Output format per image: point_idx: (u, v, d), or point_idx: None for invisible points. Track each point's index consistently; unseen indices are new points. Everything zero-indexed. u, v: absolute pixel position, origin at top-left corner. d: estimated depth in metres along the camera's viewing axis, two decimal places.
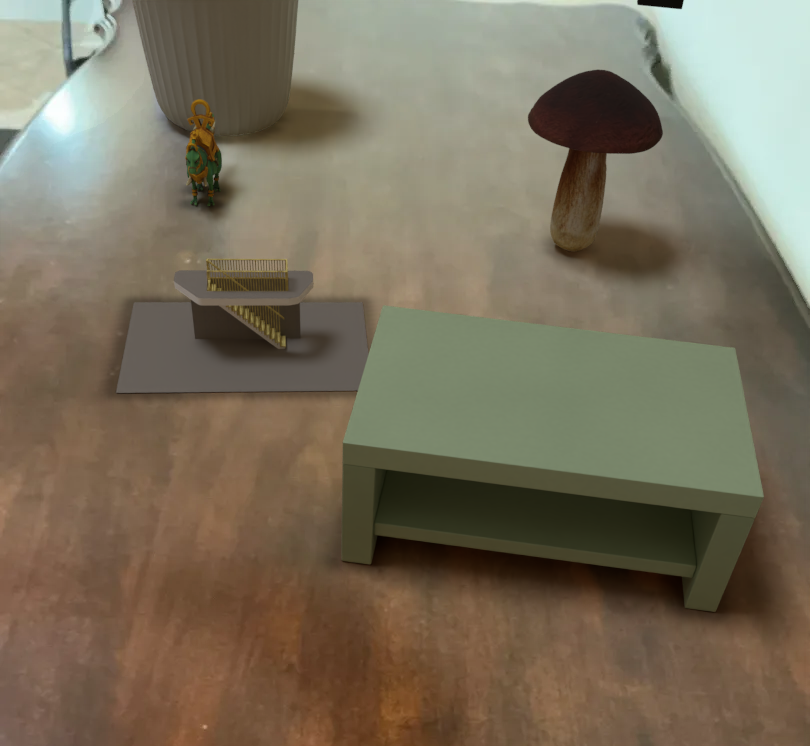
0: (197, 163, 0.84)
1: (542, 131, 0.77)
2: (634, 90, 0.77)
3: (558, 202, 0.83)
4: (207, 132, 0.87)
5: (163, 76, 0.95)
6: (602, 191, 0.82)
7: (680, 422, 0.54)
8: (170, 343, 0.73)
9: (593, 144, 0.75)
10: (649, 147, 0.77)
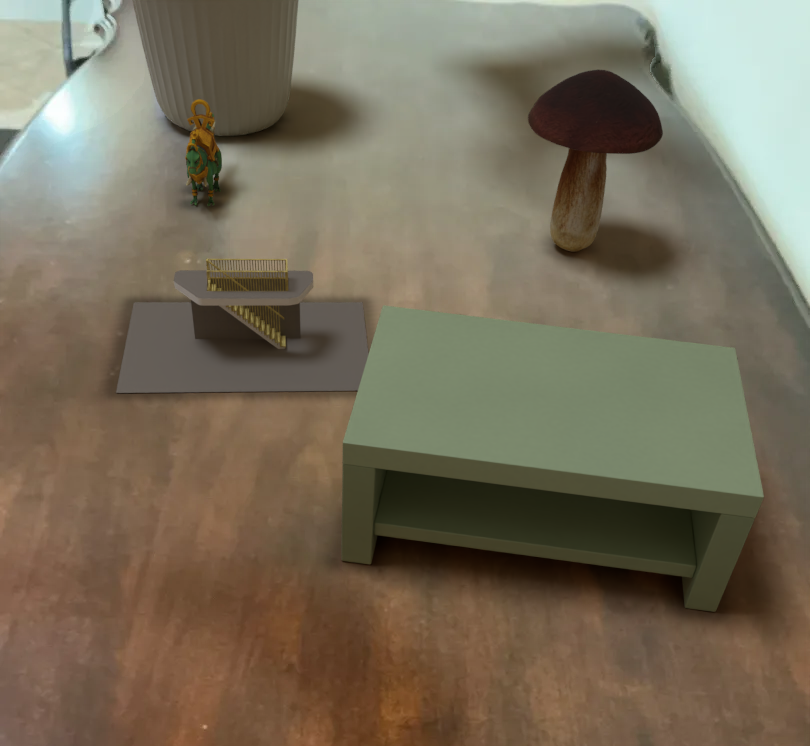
0: (197, 163, 0.84)
1: (542, 131, 0.77)
2: (634, 90, 0.77)
3: (558, 202, 0.83)
4: (207, 132, 0.87)
5: (163, 76, 0.95)
6: (602, 191, 0.82)
7: (680, 422, 0.54)
8: (170, 343, 0.73)
9: (593, 144, 0.75)
10: (649, 147, 0.77)
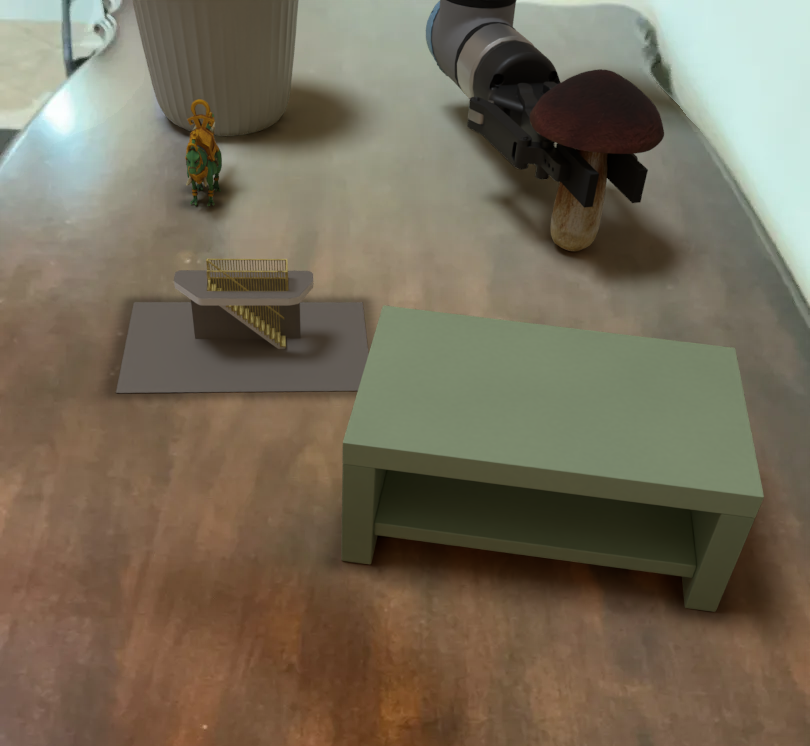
0: (197, 163, 0.84)
1: (544, 130, 0.77)
2: (636, 90, 0.77)
3: (559, 202, 0.83)
4: (207, 132, 0.87)
5: (163, 76, 0.95)
6: (603, 191, 0.82)
7: (680, 422, 0.54)
8: (170, 342, 0.73)
9: (595, 144, 0.75)
10: (651, 147, 0.77)
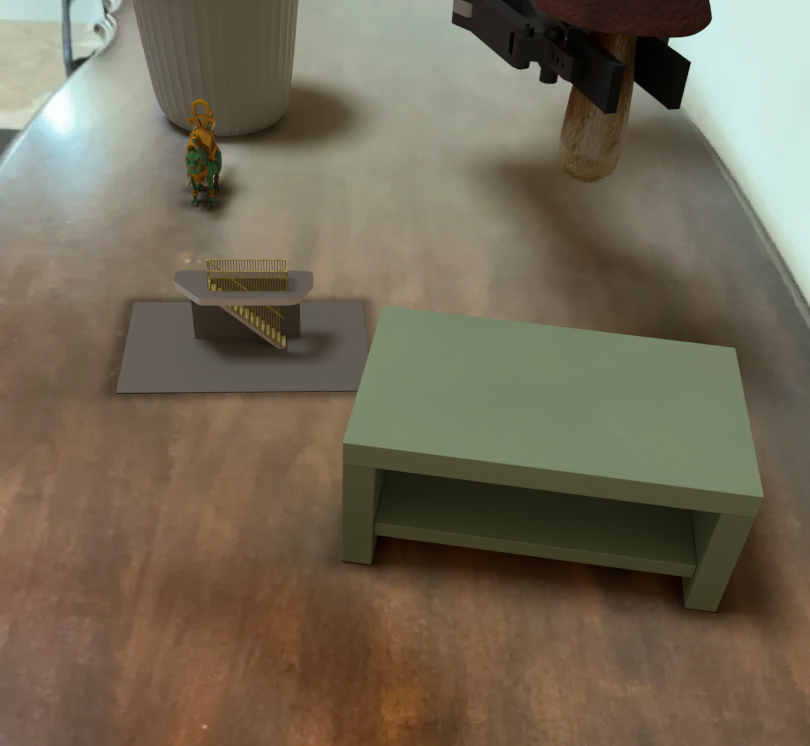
0: (197, 163, 0.84)
1: (551, 7, 0.57)
2: None
3: (570, 114, 0.63)
4: (207, 132, 0.87)
5: (163, 76, 0.95)
6: (629, 99, 0.62)
7: (680, 422, 0.54)
8: (170, 343, 0.73)
9: (620, 23, 0.55)
10: (695, 31, 0.57)
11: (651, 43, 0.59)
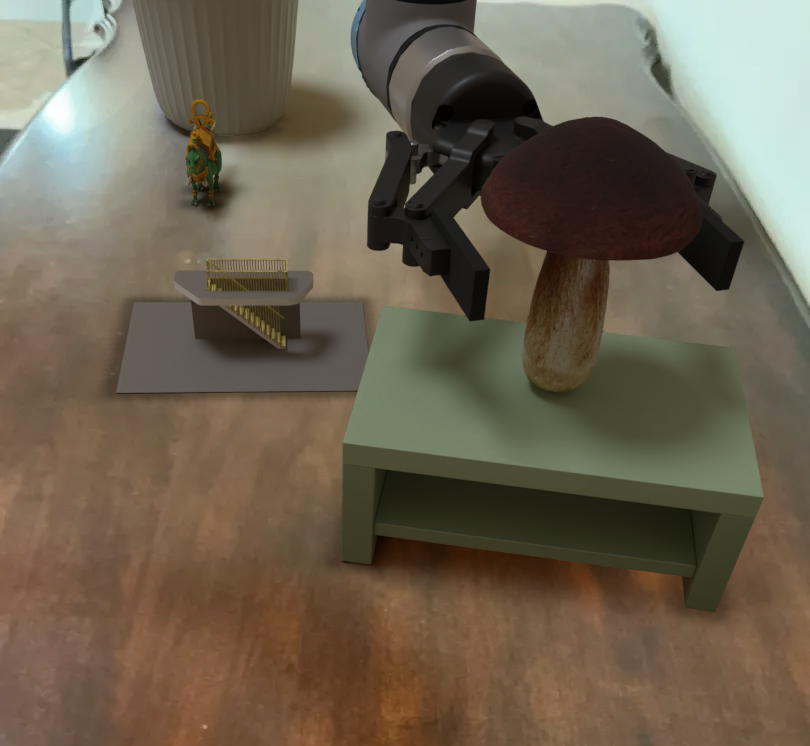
0: (197, 163, 0.84)
1: (502, 220, 0.46)
2: (656, 151, 0.46)
3: (533, 323, 0.52)
4: (207, 132, 0.87)
5: (163, 76, 0.95)
6: (603, 307, 0.51)
7: (680, 422, 0.54)
8: (170, 343, 0.73)
9: (587, 245, 0.44)
10: (681, 246, 0.46)
11: None
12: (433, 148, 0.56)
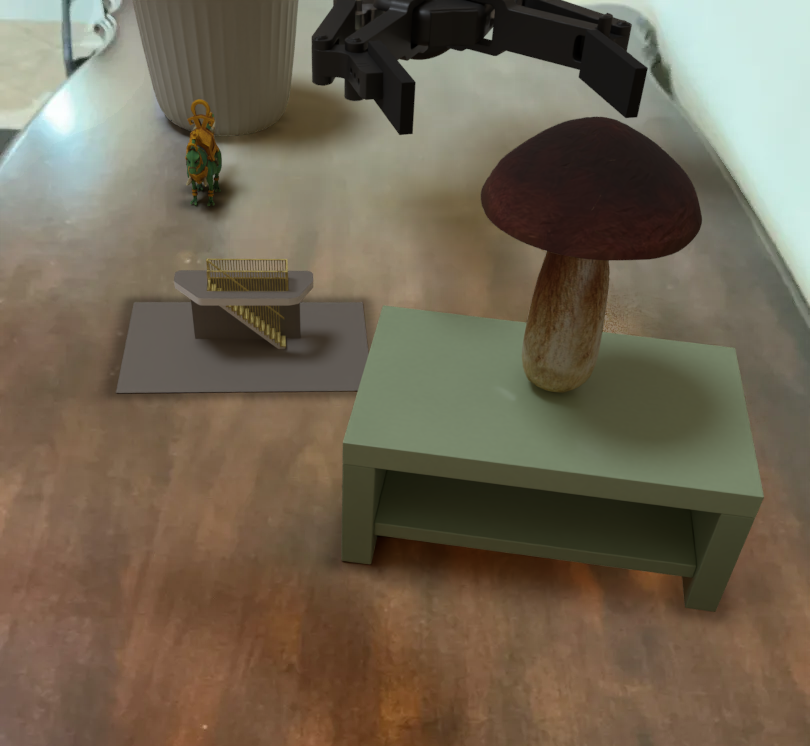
0: (197, 163, 0.84)
1: (502, 220, 0.46)
2: (656, 151, 0.46)
3: (533, 323, 0.52)
4: (207, 132, 0.87)
5: (163, 76, 0.95)
6: (603, 307, 0.51)
7: (680, 422, 0.54)
8: (170, 342, 0.73)
9: (587, 245, 0.44)
10: (681, 246, 0.46)
11: (607, 48, 0.56)
12: (376, 6, 0.62)
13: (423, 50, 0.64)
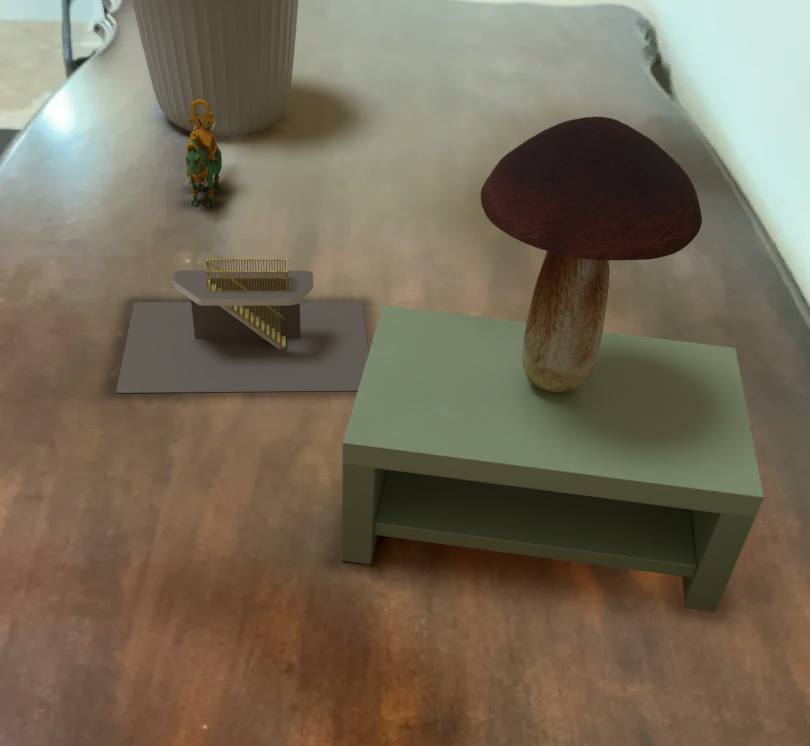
0: (197, 163, 0.84)
1: (502, 220, 0.46)
2: (656, 151, 0.46)
3: (533, 323, 0.52)
4: (207, 132, 0.87)
5: (163, 76, 0.95)
6: (603, 307, 0.51)
7: (680, 422, 0.54)
8: (170, 343, 0.73)
9: (587, 245, 0.44)
10: (681, 246, 0.46)
11: None
12: None
13: None
